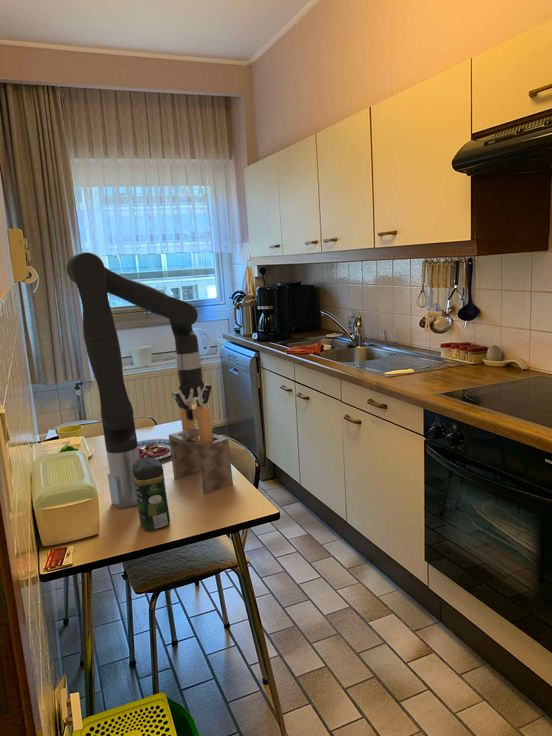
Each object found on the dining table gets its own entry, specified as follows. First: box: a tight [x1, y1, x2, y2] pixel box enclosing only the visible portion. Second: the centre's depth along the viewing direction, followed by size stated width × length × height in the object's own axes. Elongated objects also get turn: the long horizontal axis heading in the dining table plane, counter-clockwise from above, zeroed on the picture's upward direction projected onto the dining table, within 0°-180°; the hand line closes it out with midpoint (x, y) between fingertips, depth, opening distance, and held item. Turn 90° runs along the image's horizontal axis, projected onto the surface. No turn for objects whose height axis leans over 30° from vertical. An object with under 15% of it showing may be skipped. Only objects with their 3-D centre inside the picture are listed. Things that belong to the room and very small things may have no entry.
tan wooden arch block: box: [179, 403, 213, 444], centre depth 181 cm, size 3×13×13 cm, turn 40°
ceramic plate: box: [137, 438, 171, 461], centre depth 214 cm, size 26×26×3 cm
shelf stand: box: [168, 425, 234, 494], centre depth 183 cm, size 10×20×18 cm, turn 40°
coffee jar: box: [133, 457, 171, 531], centre depth 155 cm, size 10×8×19 cm
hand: (195, 418), depth 181 cm, fingers closed on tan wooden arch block, 3 cm apart
